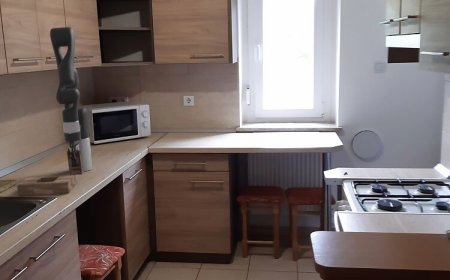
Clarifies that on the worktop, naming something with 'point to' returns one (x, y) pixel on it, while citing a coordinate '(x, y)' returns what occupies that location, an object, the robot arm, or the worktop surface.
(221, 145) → the worktop surface
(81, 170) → the box
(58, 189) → the slot beam
